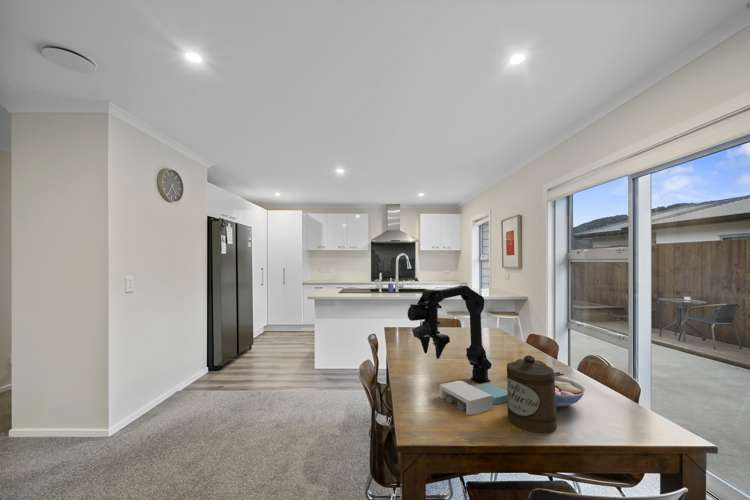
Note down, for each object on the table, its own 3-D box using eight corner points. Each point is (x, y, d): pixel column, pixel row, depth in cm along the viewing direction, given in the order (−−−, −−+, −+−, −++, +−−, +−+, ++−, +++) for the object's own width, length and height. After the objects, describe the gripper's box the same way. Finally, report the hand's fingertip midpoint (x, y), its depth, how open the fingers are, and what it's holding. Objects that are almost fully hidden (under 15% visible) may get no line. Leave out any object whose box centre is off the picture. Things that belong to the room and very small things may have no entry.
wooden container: (498, 415, 109) (497, 352, 110) (530, 409, 114) (528, 348, 116) (533, 437, 95) (531, 364, 97) (567, 428, 100) (565, 359, 102)
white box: (460, 392, 129) (460, 380, 130) (492, 409, 114) (492, 395, 114) (439, 397, 125) (439, 384, 125) (469, 415, 109) (469, 400, 109)
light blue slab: (490, 389, 133) (490, 383, 133) (513, 400, 122) (513, 393, 122) (472, 393, 129) (472, 387, 129) (495, 404, 118) (494, 398, 118)
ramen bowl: (548, 421, 105) (548, 396, 106) (503, 394, 127) (503, 374, 128) (604, 412, 112) (603, 389, 112) (553, 388, 134) (552, 369, 134)
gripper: (404, 317, 139) (404, 352, 138) (427, 324, 122) (427, 364, 121) (425, 315, 143) (425, 349, 142) (450, 321, 126) (451, 360, 125)
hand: (431, 355), depth 133 cm, fingers open, 9 cm apart
